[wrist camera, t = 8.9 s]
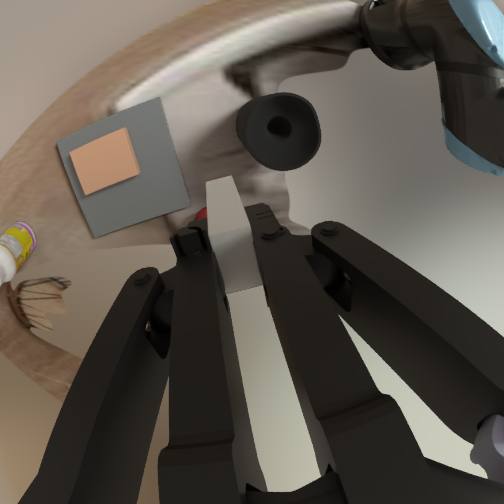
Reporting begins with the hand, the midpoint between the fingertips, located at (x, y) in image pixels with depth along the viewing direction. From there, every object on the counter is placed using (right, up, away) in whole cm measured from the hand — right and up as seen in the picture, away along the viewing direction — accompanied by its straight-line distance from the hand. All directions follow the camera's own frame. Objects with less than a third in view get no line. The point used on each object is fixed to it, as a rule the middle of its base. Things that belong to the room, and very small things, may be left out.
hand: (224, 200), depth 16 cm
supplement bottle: (-40, 0, +21) cm, 45 cm away
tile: (-15, +11, +18) cm, 26 cm away
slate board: (-18, +9, +21) cm, 29 cm away
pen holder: (+3, +16, +22) cm, 27 cm away
